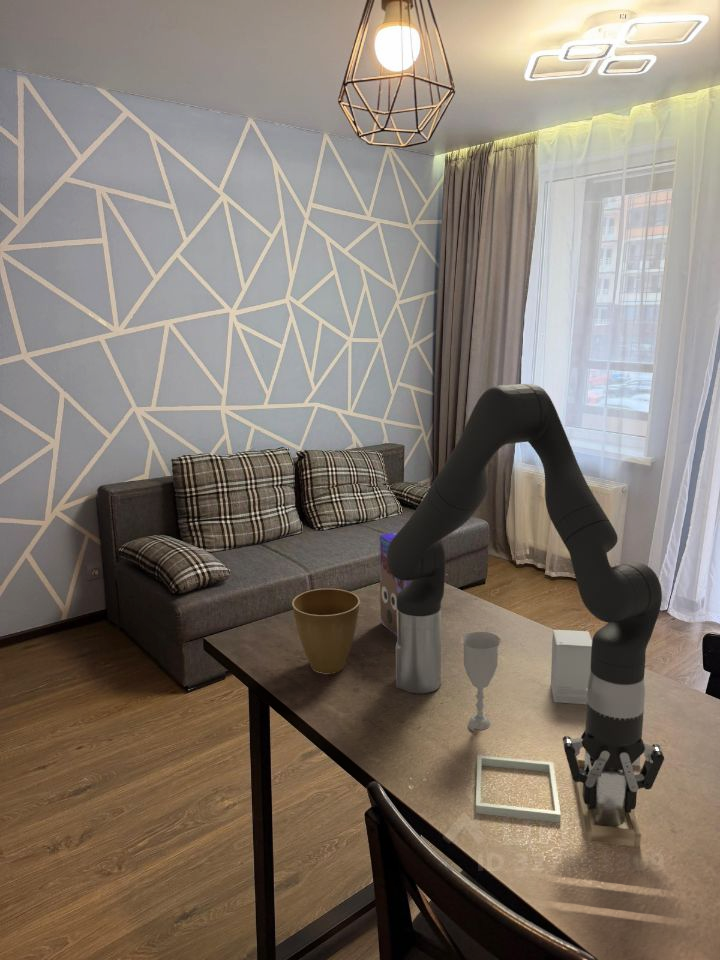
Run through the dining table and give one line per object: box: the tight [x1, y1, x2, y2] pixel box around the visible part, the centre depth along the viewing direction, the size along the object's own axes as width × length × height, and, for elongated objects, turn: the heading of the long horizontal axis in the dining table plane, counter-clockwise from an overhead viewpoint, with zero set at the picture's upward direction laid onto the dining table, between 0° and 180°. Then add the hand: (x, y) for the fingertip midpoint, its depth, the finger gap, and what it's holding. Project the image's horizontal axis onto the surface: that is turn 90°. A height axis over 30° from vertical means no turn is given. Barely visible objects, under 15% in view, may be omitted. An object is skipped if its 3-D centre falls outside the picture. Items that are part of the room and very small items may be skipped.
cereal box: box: [378, 532, 413, 637], centre depth 160 cm, size 17×5×24 cm, turn 25°
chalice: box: [460, 631, 502, 732], centre depth 121 cm, size 7×7×18 cm
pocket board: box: [573, 756, 642, 848], centre depth 101 cm, size 7×17×3 cm, turn 169°
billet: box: [592, 768, 627, 827], centre depth 95 cm, size 4×4×8 cm
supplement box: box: [550, 629, 593, 706], centre depth 132 cm, size 7×7×13 cm
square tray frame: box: [475, 754, 562, 823], centre depth 104 cm, size 12×12×2 cm
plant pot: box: [291, 588, 361, 673], centre depth 146 cm, size 15×15×16 cm
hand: (608, 806), depth 96 cm, fingers closed on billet, 4 cm apart
